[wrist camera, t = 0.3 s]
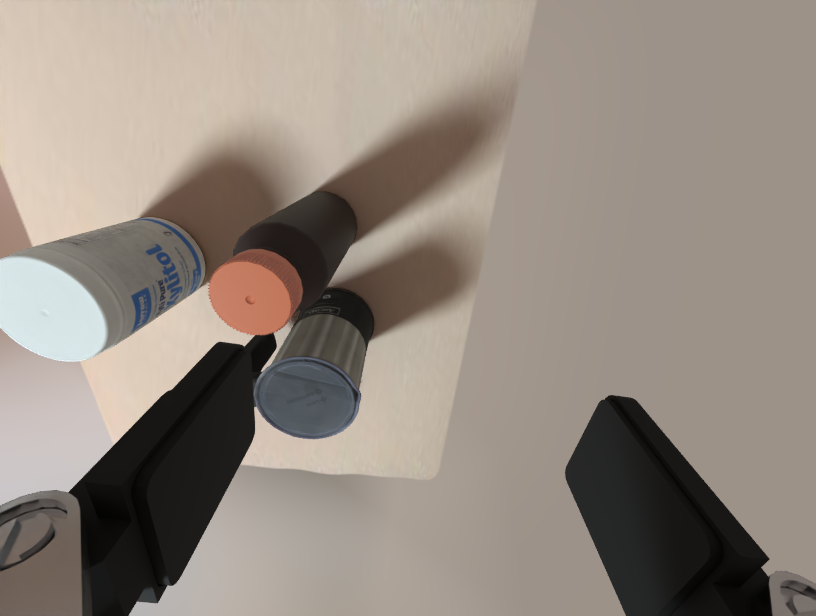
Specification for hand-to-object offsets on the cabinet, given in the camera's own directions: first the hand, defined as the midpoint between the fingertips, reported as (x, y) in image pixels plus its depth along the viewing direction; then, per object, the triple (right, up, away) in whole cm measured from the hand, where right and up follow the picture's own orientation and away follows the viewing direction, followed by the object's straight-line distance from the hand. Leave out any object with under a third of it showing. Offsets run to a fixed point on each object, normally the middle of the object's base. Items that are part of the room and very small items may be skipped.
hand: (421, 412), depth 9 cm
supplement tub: (-28, +9, +31) cm, 43 cm away
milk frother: (-10, -2, +36) cm, 38 cm away
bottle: (-9, +12, +29) cm, 33 cm away
